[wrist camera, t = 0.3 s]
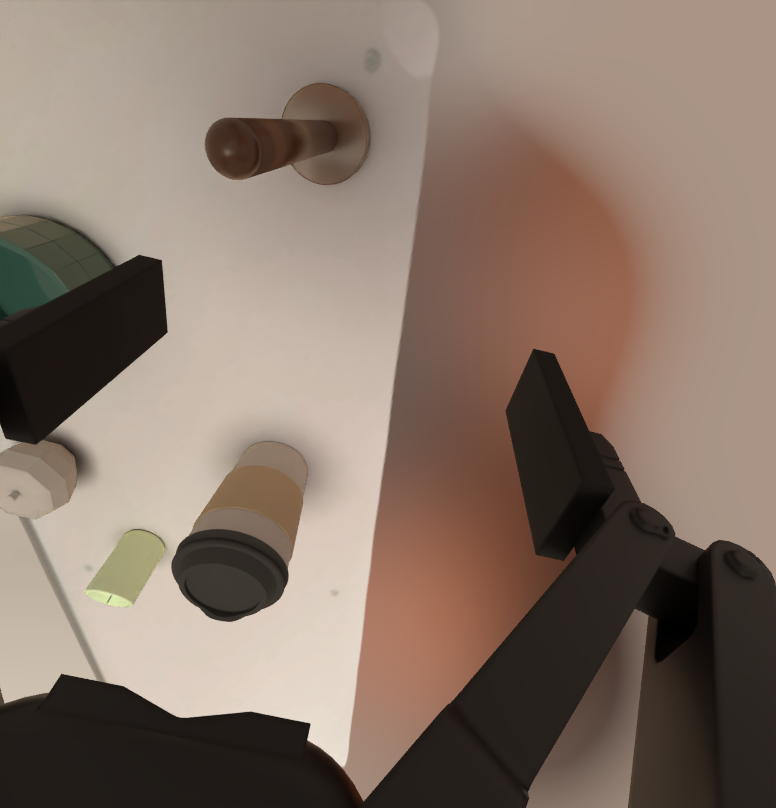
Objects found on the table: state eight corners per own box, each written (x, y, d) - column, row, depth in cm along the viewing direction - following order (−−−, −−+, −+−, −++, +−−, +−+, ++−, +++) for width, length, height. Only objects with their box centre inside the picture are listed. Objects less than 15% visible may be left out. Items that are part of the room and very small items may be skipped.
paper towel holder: (291, 76, 29) (123, 16, 12) (376, 96, 29) (321, 62, 13) (285, 172, 32) (143, 224, 15) (362, 189, 32) (303, 258, 16)
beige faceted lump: (3, 426, 46) (-55, 468, 40) (73, 422, 45) (24, 464, 39) (43, 485, 50) (-4, 530, 44) (108, 482, 49) (68, 528, 44)
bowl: (-38, 198, 34) (-118, 211, 29) (124, 232, 35) (74, 250, 30) (5, 342, 41) (-55, 373, 35) (141, 368, 41) (101, 403, 36)
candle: (165, 561, 56) (129, 623, 49) (124, 552, 55) (82, 613, 48) (165, 534, 53) (127, 596, 46) (122, 525, 53) (77, 586, 46)
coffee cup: (232, 424, 44) (155, 546, 31) (323, 441, 44) (284, 569, 32) (231, 490, 49) (164, 620, 36) (313, 506, 49) (276, 639, 37)
